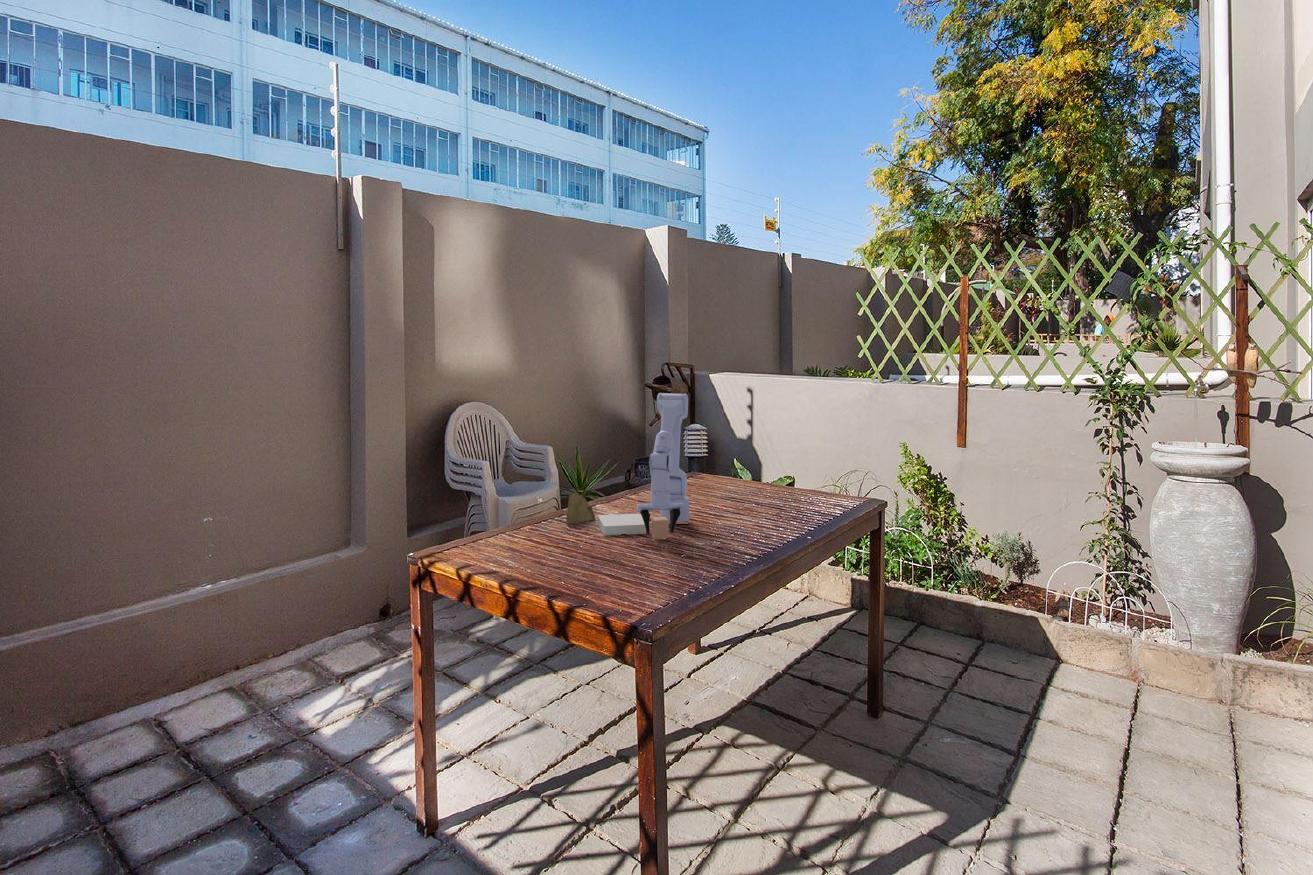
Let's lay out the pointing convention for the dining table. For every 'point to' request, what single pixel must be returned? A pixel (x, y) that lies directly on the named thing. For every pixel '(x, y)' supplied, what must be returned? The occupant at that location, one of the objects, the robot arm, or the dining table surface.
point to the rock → (578, 509)
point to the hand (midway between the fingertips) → (659, 532)
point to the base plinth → (621, 524)
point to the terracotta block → (659, 527)
